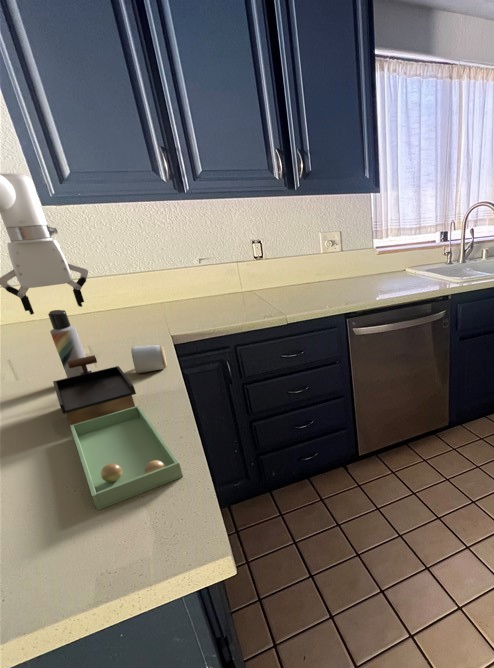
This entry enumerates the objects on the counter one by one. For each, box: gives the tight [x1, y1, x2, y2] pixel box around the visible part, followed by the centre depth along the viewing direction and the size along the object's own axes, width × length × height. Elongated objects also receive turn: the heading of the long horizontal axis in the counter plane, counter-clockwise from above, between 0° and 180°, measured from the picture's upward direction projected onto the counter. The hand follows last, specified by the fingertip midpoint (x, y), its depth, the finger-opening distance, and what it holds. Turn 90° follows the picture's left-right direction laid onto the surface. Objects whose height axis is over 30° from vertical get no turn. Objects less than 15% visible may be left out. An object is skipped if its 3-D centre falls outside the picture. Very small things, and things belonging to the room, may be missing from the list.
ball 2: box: [145, 460, 165, 474], centre depth 75 cm, size 3×3×3 cm
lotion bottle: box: [47, 309, 92, 378], centre depth 116 cm, size 6×6×20 cm
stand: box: [66, 395, 136, 425], centre depth 103 cm, size 13×14×4 cm
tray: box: [69, 405, 184, 511], centre depth 82 cm, size 13×31×3 cm, turn 40°
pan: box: [52, 354, 137, 415], centre depth 101 cm, size 14×23×5 cm, turn 40°
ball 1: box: [101, 463, 122, 482], centre depth 74 cm, size 3×3×3 cm
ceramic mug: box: [131, 344, 168, 374], centre depth 125 cm, size 11×8×8 cm
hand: (56, 309), depth 103 cm, fingers open, 9 cm apart
